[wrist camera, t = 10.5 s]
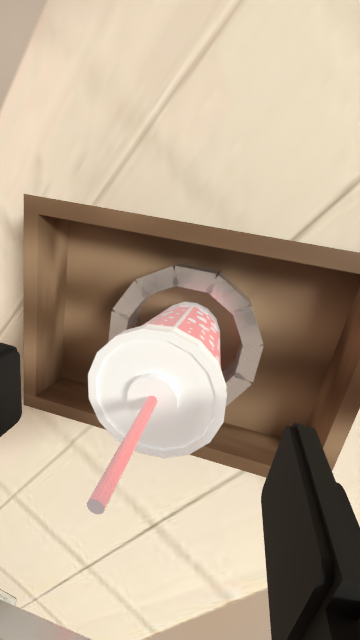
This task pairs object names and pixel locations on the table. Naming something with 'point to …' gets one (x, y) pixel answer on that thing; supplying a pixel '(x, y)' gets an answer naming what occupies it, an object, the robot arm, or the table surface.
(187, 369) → the beverage cup
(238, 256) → the walnut box
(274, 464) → the robot arm
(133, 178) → the table surface
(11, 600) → the skincare box
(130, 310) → the socket ring
